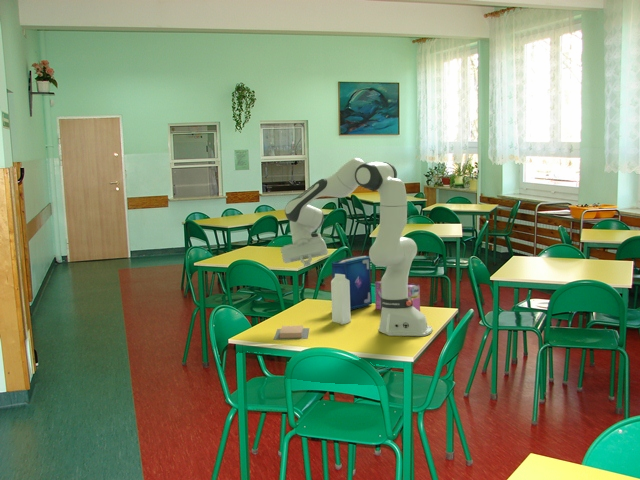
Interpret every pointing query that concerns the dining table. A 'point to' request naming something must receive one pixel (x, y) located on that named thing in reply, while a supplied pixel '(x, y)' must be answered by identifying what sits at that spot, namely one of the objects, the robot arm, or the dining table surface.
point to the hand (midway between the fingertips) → (307, 264)
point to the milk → (340, 299)
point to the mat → (304, 336)
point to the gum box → (412, 293)
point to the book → (356, 279)
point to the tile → (291, 331)
